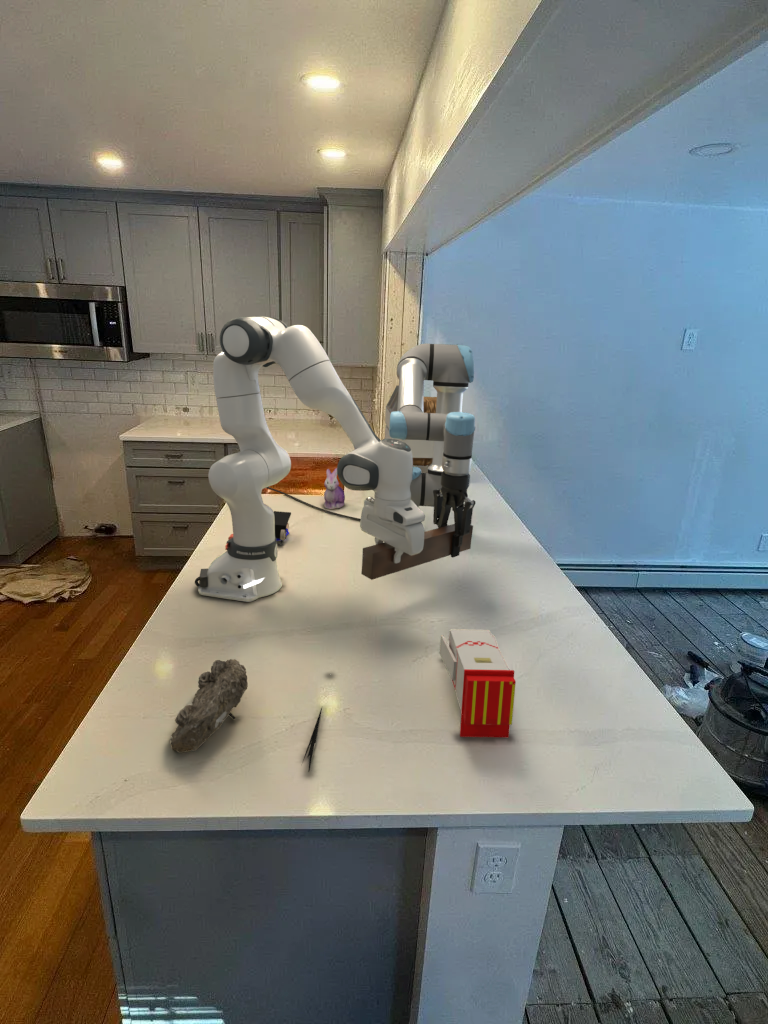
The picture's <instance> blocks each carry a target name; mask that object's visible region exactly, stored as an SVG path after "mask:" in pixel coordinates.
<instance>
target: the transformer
mask: <svg viewBox="0 0 768 1024" xmlns="http://www.w3.org/2000/svg"><path fill="white" fill-rule="evenodd" d="M398 393H399V384H397V385H396V386H395V388H394V389H393V392H392V393H391V395H390V398H389V400H388V402H387V403H386V405H385V413H384V414H385V416H384V424H385V425H384V426H385V427H384V439H395V438H391V437H390V435H389V424H390V414H391V412H393V411H397V408H398ZM436 402H437V396H424V412H423V413H436ZM396 440H400V441H402V442H404V443H406V444H407V445H408V446H409V447H410V448H411V451H412V457H413V467H426V466H427V467H429V466H430V465H431V464H432V461H433V446H434V441H428V440H402V439H396Z"/></svg>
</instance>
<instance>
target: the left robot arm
mask: <svg viewBox="0 0 768 1024" xmlns="http://www.w3.org/2000/svg"><path fill="white" fill-rule="evenodd" d="M219 344H220V348H221V352H219V353H218V354H217V355H216V356H214V358H213V361H212V362H213V363H212V374H213V375H212V378H213V389H214V395H215V400H216V406H217V411H218V417H219V422H220V426H221V428H222V430H223V432H225V433H226V434H228V435H229V436H231V437H232V438H233V439H234V440H235V442H236V443H237V445H238V448H239V451H238V452H235V453H231V454H228V455H225V456H223V457H222V458H220V459H218V460H217V461H216V462H214V463H213V464H212V465H210V467H209V470H208V483H209V486H210V488H211V490H212V492H213V493H214V494H216V496H218V497H219V498H221V499H223V500H224V502H225V503H226V505H227V507H228V509H229V512H230V517H231V524H232V533H231V534H230V535H229V536H228V538H227V541H226V544H225V546H224V547H225V548H224V552H223V553H221V554H220V555H219V556H217V557H216V558H215V559H213V561H212V562H211V563H210V564H209V566H208V568H200V572H199V576H198V577H197V578H196V579H195V580H194V584H195V586H196V587H197V589H198V590H197V592H198V594H199V595H200V596H204V597H205V596H206V597H212V598H220V599H225V600H233V601H239V602H245V603H251V602H254V601H255V600H257V599H260V598H263V597H267V596H268V597H269V596H270V595H273V594H275V593H277V592H278V591H279V590H281V588H282V586H283V582H282V579H281V576H280V573H279V568H278V561H277V560H278V559H277V558H278V541H277V540H276V537H275V518H274V510H273V509H272V507H270V506H269V505H268V504H266V503H264V500H263V496H262V491H263V490H264V489H267V488H266V487H271V486H274V485H277V484H279V482H281V481H282V480H284V479H285V478H286V477H287V476H288V475H289V474H290V472H291V469H292V460H291V457H290V455H289V453H288V451H287V450H286V449H285V448H284V447H282V446H281V445H280V444H279V443H277V441H276V440H275V438H274V437H273V435H272V433H271V431H270V429H269V425H268V423H267V419H266V415H265V410H264V405H263V404H264V403H263V400H262V394H261V387H260V383H259V372H260V370H261V368H262V367H264V368H268V367H270V366H272V365H274V364H275V363H276V364H277V365H278V366H279V367H280V368H281V370H282V371H283V373H284V375H285V377H286V379H287V382H288V383H289V386H290V387H291V388H292V390H293V393H294V394H295V396H296V397H297V398H298V400H299V401H300V402H301V403H302V404H303V405H304V406H306V407H307V408H309V409H312V410H316V411H319V412H323V413H325V414H328V415H330V416H331V417H333V418H334V419H335V420H336V421H337V422H338V423H339V425H340V426H341V428H342V430H343V431H344V433H345V435H346V437H347V438H348V439H349V441H350V443H351V445H352V447H353V448H354V449H352V450H351V451H349V452H347V453H346V454H344V455H343V456H342V457H340V458H339V460H338V462H337V466H336V468H337V478H338V480H339V481H340V483H341V484H342V485H343V486H344V488H347V489H348V490H350V491H356V492H357V491H359V492H362V491H363V492H365V491H366V492H367V491H373V493H374V497H372V496H368V497H366V498H365V499H364V500H363V507H362V509H361V514H360V519H361V520H360V521H359V527H360V530H361V531H362V532H364V533H365V534H368V535H370V536H372V537H373V538H374V543H375V545H377V544H380V543H384V542H385V543H387V544H389V545H391V546H393V547H395V551H396V553H395V555H392V557H391V558H392V559H391V561H392V562H394V563H399V562H400V559H401V555H402V554H403V552H405V553H407V554H409V555H415V554H418V553H420V552H421V551H422V550H423V546H424V532H425V526H424V524H423V522H424V521H425V520H426V514H425V512H424V511H423V510H422V509H421V508H418V507H417V506H416V505H415V504H414V502H413V501H412V500H411V492H410V484H411V481H412V475H413V467H414V466H413V457H412V451H411V448H410V447H409V446H408V445H407V444H406V443H404V442H402V441H400V440H396V439H385V438H383V439H381V438H379V437H378V436H377V434H376V433H375V431H374V430H373V428H372V427H371V425H370V423H369V422H368V420H367V419H366V417H365V415H364V413H363V411H362V410H361V408H360V407H359V405H358V404H357V402H356V400H355V399H354V398H353V396H352V395H351V394H350V392H349V390H347V388H346V385H344V383H343V381H342V380H341V378H340V376H339V374H338V373H337V371H336V369H335V367H334V365H333V364H332V361H331V359H330V357H329V356H328V354H327V352H326V350H325V349H324V348H323V347H324V346H322V344H321V343H320V341H319V339H318V338H317V337H316V336H315V334H314V333H313V332H312V331H311V329H310V328H308V326H305V325H303V324H293V325H290V326H288V325H287V323H285V322H284V321H282V320H281V319H279V318H277V317H270V316H263V315H253V316H237V317H235V318H232V319H230V320H228V321H227V322H226V323H225V324H224V325H223V327H222V328H221V330H220V334H219Z"/></svg>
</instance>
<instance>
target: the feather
mask: <svg viewBox="0 0 768 1024" xmlns="http://www.w3.org/2000/svg"><path fill="white" fill-rule="evenodd" d="M329 675H330V676H331V675H332V674H331V673H330V674H329ZM322 710H323V707H321V708H320V710H319V713H318V716H317V719H316V723H315V725H314V728H313V731H312V733H311V737H310V739H309V742H308V745H307V748H306V751H305V754H304V757H303V760H302V763H301V767H302V765H303V763H304V761H305V758H308V759H309V760H308V762H307V763H308V764H307V766H308V771H310V770H311V766H312V765H311V764H312V760H313V757H315V756H314V755H315V751H316V749H315V746H317V739H318V733H319V729H320V722H321V717H322V712H323V711H322ZM313 754H314V755H313ZM306 755H307V757H306Z"/></svg>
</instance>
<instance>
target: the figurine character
mask: <svg viewBox="0 0 768 1024" xmlns="http://www.w3.org/2000/svg"><path fill="white" fill-rule="evenodd" d="M273 512H274V518H275V537H276V540H277V542H278V541H279V545H282V544H283V542H284V541H285V540H286V539H287V536H289V535H290V532H289V528H290V526H289V525H290V524H289V520H290V518H291V516H292V512H290V511H279V510H277V511H276V510H273Z"/></svg>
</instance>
